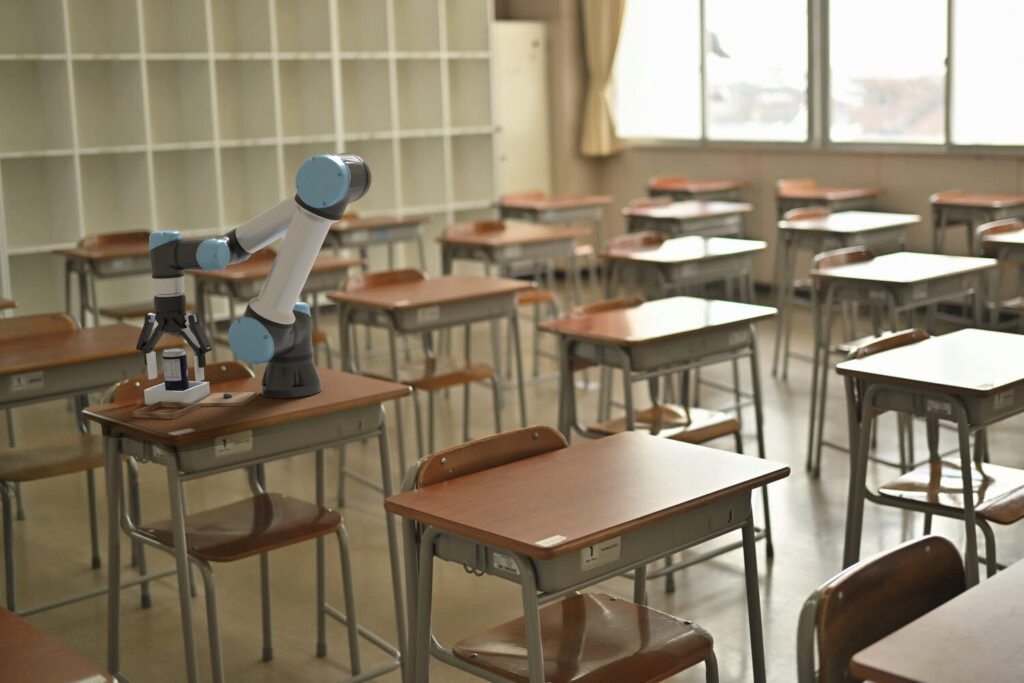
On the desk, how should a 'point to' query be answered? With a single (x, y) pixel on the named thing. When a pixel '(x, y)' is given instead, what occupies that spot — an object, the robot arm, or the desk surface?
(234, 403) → the lid
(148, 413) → the frame
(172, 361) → the beverage can
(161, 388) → the tray
